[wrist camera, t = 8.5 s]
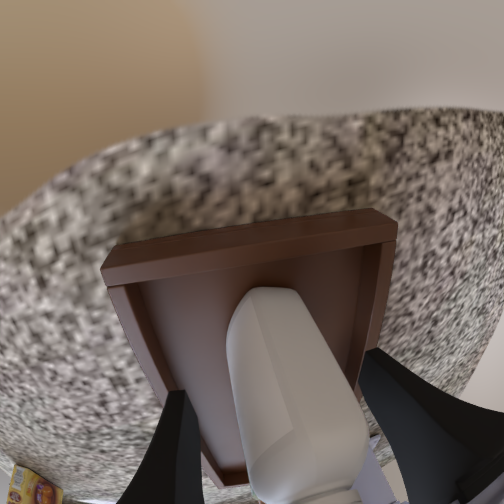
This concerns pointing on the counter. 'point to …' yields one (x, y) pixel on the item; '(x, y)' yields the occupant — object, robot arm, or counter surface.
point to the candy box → (32, 488)
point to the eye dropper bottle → (293, 403)
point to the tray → (229, 296)
